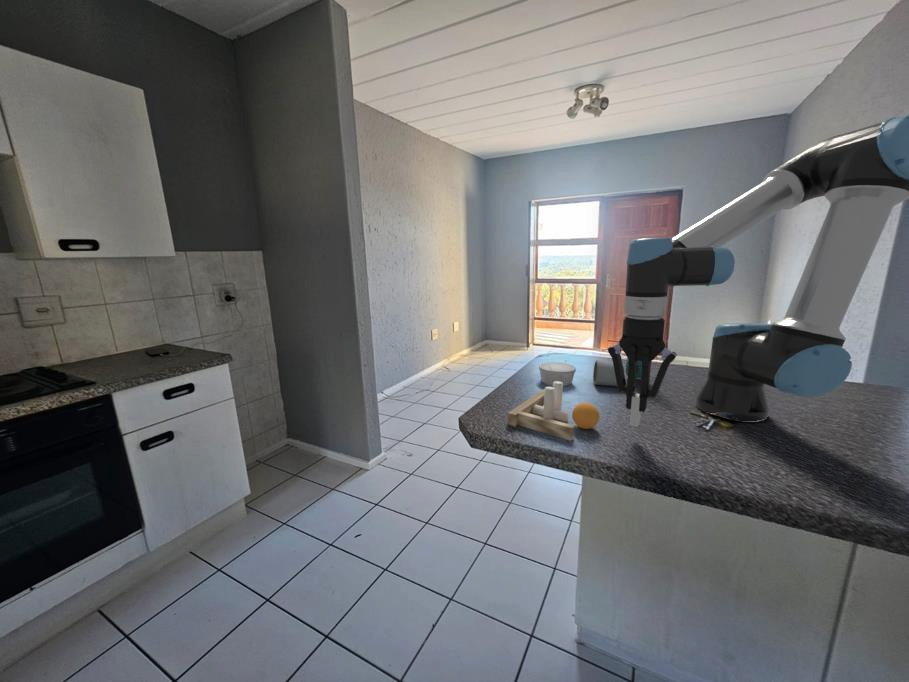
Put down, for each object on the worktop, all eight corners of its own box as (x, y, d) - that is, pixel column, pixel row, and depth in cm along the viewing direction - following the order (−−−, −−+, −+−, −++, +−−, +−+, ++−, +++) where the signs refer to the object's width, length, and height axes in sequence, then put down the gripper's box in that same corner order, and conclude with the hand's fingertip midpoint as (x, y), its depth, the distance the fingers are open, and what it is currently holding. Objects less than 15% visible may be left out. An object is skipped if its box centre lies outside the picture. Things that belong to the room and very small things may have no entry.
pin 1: (554, 421, 90) (556, 388, 88) (550, 424, 88) (552, 390, 86) (545, 418, 91) (547, 386, 89) (541, 421, 89) (543, 388, 87)
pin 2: (562, 414, 93) (564, 382, 92) (558, 417, 92) (560, 385, 90) (553, 411, 95) (555, 380, 93) (549, 415, 93) (551, 383, 91)
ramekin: (531, 379, 121) (532, 364, 120) (558, 375, 125) (559, 360, 124) (553, 390, 111) (554, 373, 110) (582, 385, 115) (583, 369, 114)
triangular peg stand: (597, 412, 94) (598, 401, 94) (568, 443, 79) (569, 430, 78) (542, 399, 103) (543, 389, 102) (507, 424, 88) (507, 412, 87)
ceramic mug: (623, 389, 111) (626, 365, 109) (595, 387, 113) (597, 363, 111) (616, 379, 121) (618, 356, 119) (590, 377, 123) (592, 355, 121)
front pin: (569, 411, 90) (536, 403, 95) (565, 414, 88) (532, 405, 93) (568, 420, 90) (536, 412, 95) (564, 423, 88) (532, 414, 93)
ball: (572, 405, 90) (585, 427, 89) (563, 413, 85) (577, 436, 84) (593, 395, 86) (607, 418, 85) (585, 403, 82) (600, 427, 81)
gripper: (605, 316, 76) (598, 422, 81) (678, 321, 68) (666, 438, 73) (615, 312, 81) (608, 411, 87) (683, 316, 74) (671, 424, 79)
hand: (634, 423), depth 80 cm, fingers closed
